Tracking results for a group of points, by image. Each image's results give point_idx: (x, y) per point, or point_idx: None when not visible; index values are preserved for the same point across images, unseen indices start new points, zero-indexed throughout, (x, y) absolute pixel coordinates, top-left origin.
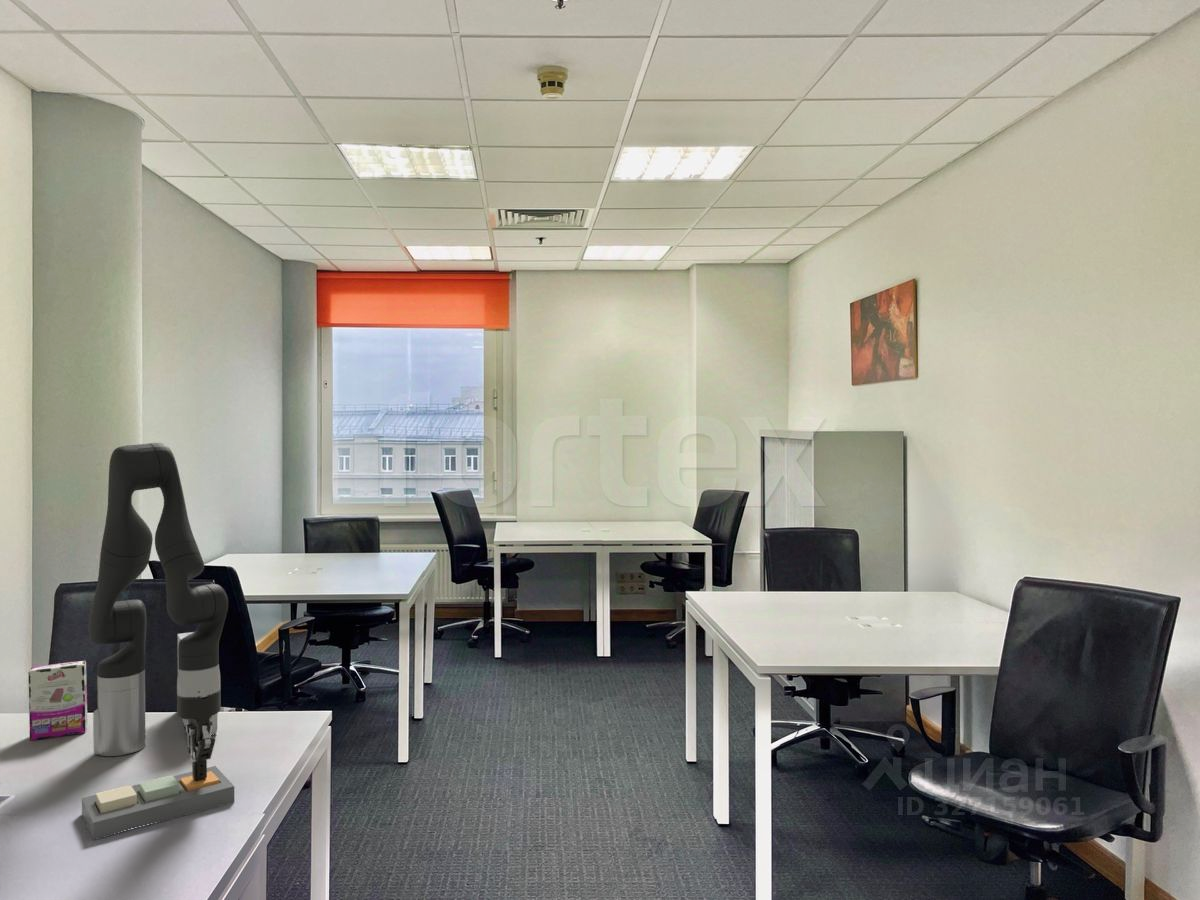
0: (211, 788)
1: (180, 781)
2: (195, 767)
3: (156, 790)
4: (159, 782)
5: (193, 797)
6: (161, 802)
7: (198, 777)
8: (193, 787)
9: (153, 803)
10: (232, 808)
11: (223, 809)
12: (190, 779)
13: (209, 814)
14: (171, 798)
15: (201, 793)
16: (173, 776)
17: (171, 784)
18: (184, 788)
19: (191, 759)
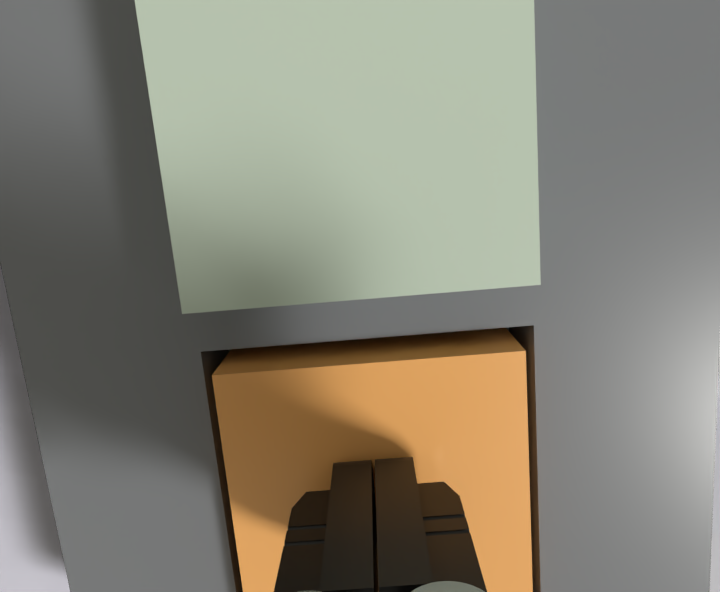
0: (146, 546)
1: (508, 343)
2: (323, 556)
3: (148, 58)
4: (374, 119)
5: (30, 385)
6: (31, 105)
7: (299, 510)
8: (222, 423)
9: (45, 27)
10: (37, 571)
11: (52, 522)
12: (425, 431)
13: (12, 431)
14: (91, 206)
15: (70, 458)
16: (702, 303)
17: (222, 236)
18: (341, 350)
19: (454, 583)
